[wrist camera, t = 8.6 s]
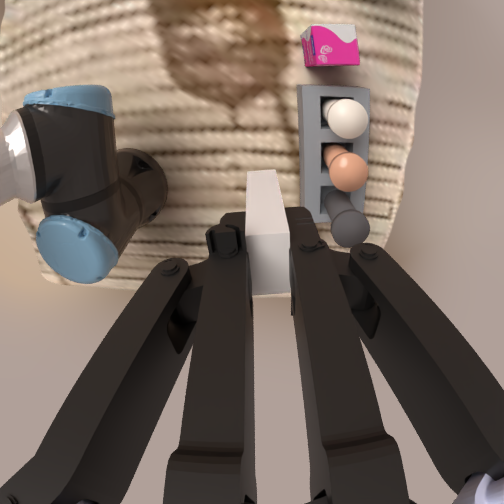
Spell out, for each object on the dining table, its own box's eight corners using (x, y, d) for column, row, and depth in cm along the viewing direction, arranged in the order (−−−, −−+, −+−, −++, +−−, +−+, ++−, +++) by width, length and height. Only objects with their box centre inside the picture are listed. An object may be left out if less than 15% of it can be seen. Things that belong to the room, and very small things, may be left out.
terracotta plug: (317, 169, 44) (329, 192, 37) (317, 138, 41) (330, 154, 34) (348, 169, 44) (366, 191, 36) (349, 138, 41) (369, 154, 34)
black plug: (319, 216, 46) (331, 248, 38) (320, 186, 43) (333, 214, 36) (350, 215, 46) (367, 246, 38) (352, 185, 43) (372, 213, 35)
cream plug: (315, 125, 41) (329, 138, 34) (314, 93, 38) (328, 98, 31) (347, 126, 41) (367, 139, 33) (347, 94, 38) (368, 100, 30)
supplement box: (298, 34, 35) (310, 22, 26) (335, 33, 34) (357, 23, 25) (303, 67, 38) (316, 65, 29) (339, 66, 38) (363, 65, 28)
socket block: (300, 207, 52) (304, 223, 47) (296, 84, 40) (301, 85, 35) (352, 205, 52) (362, 220, 47) (357, 86, 39) (369, 88, 34)
